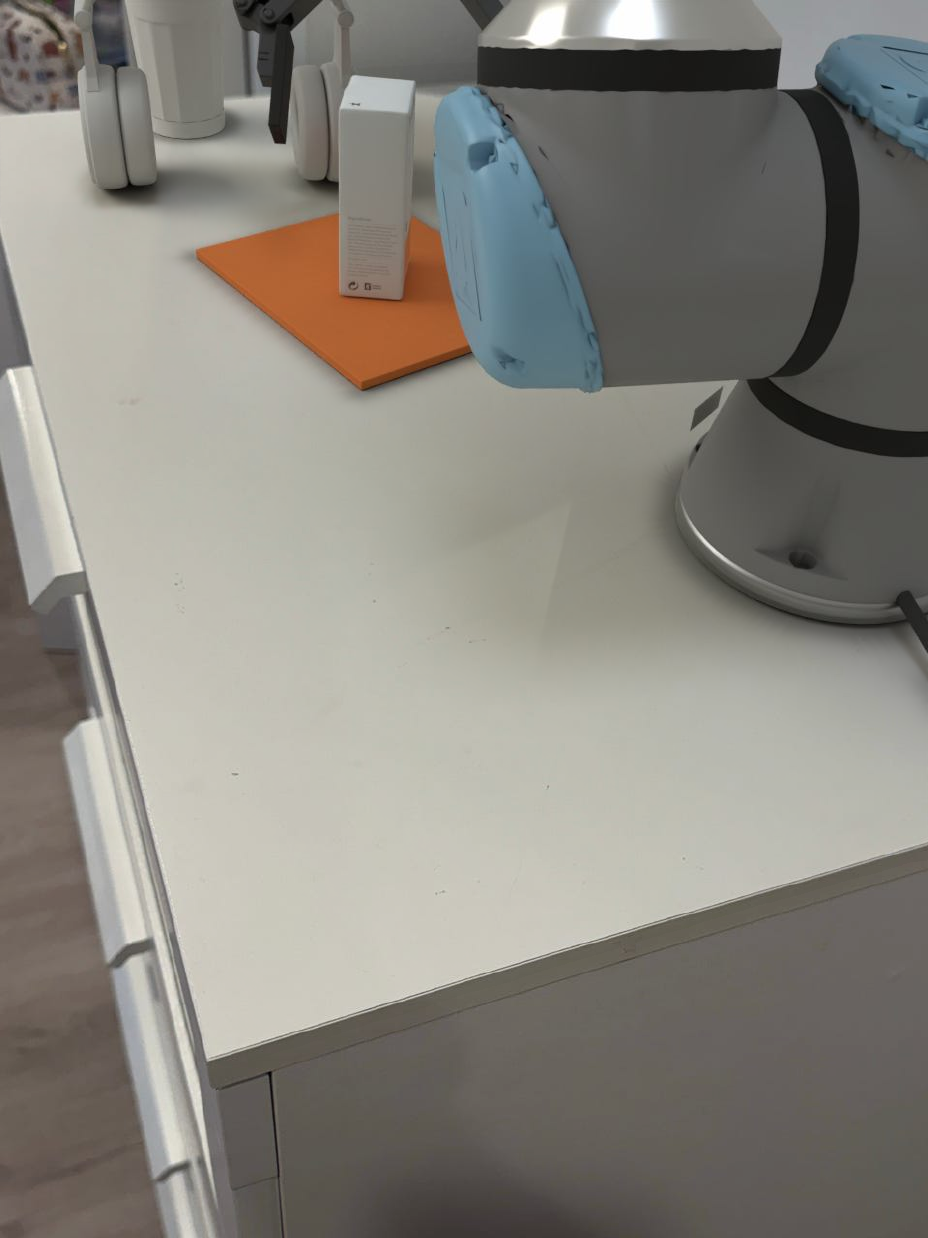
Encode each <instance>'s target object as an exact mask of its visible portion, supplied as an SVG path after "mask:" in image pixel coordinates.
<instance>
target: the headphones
mask: <svg viewBox="0 0 928 1238" xmlns="http://www.w3.org/2000/svg"><path fill="white" fill-rule="evenodd" d="M329 1H330V8H331V10H332V13H333V15H334V35H333V58H332V61H328V62H324V63H322V64H321V65H320V68H319V67H318V66H317V65H315V64H302V65H298V66H295V67H293V69H292V80H291V92H290V104H289V113H290V115H289V116H290V129H291V140H292V150H293V156H294V161H295V167H296V170H297V172H298V175H299V176H300V178H301V179H302V180H306V181H321V180H324V179H325V178H327V180H328V181H330V182H335V183H339V108H340V105H341V102H342V99H343V96H344V92H345V89H346V88H347V86H348V84H349V81H350V78H351V77H352V76H353V75H358V73H357V70H356V69H355V68H354V67H353V66H352V62H351V60H352V59H351V40H350V35H351V34H350V28H351V27H352V26H353V25H354V23H355V16H354V14H353V12H352V9H351V8H350V6H349V3H348V1H347V0H329ZM95 2H96V0H74V7H73V8H74V10H73V22H74V24H75V25H76V26H77V28H79V29H80V35H81V36H80V37H81V43H82V51H83V59H84V60H83V61H84V65H83V66H82V68H81V69H80V70H78V71H77V89H78V93H77V94H78V103H79V115H80V123H81V129H82V136H83V137H82V138H83V143H84V150H85V155H86V161H87V165H88V166H87V167H88V171H89V176H90V179H91V182H92V183H93V184H94V185H96V186H97V187H98V188H99V189H105V190H117V189H123V188H125V187H127V186H128V183H131V185H132V186H148V185H151V184H152V185H153V184H154V183H155V182H156V181H157V177H158V168H157V167H158V166H157V155H156V147H155V146H156V145H155V137H154V136H155V135H154V132H153V126H152V118H151V109H150V101H149V93H148V85H147V79H146V76H145V73H144V72H143V71H142V70H141V69H140V68H138V67H137V66H120V67H118V68H117V70H116V72H115V69H114V68H113V66H112V65H110V64H105V63H99V59H98V55H97V48H96V42H95V38H94V36H95V35H94V32H93V26H92V25H93V21H94V20H93V18H94V17H93V12H94V11H93V10H94V3H95Z"/></svg>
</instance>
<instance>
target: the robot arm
mask: <svg viewBox="0 0 928 1238" xmlns="http://www.w3.org/2000/svg"><path fill="white" fill-rule="evenodd" d="M323 1H324V0H232V6H233V9H234V12H235V15H236V18H237V21H238V23H239V26H240V28H241V29H242V30H243V31H246V32H252V31H253V32H255V33H257V34H258V36H259V37H258V46H257V47H258V48H257V60H256V70H257V73H258V76H259V77H258V78H259V81H260V83H261V86H262V88H270V97H269V109H268V118H267V119H268V120H267V126H268V129H269V132H270V134H271V138H272V141H273V143H274V144H276V145H287V137H288V124H289V116H290V115H289V113H290V92H291V80H292V72H293V70H294V57H295V56H294V55H295V45H294V40H293V37H292V33H291V32H292V31H293V30H294V29H295V28H296V27H298V25H299V24H300V23H302V22H303V21H304V19H306V18H307V16H308V15H310V13H312V11H314V10H315V9H316V8H317V6H319V5H320V4H321V3H322V2H323ZM459 1H460V3H461V4H462V5H463V7H464V8H465V10H466V11H467V12H468V13H469V15H470V16H471V18H472V19H473V21H474V22H475V23H476V24H477V26H478V27H479V29H480V30H481V32H480V33H479V34H478V35H477V46H476V47H477V53H476V57H477V59H476V60H477V61H476V65H477V66H476V73H477V74H476V86H474V85H461V86H460V87H458V88H457V89H456V90H455V91H452V92H450V93H449V92H448V94H446V95H444V96H443V97H442V98H441V100H440V102H439V104H438V106H437V109H436V112H435V116H434V125H433V126H434V127H433V130H434V146H435V147H434V148H435V149H434V152H433V158H432V159H433V179H434V190H435V191H434V193H435V202H436V211H437V220H438V226H439V227H438V228H439V233H440V234H441V240H442V246H443V251H444V257H445V262H446V268H447V272H448V277H449V281H450V286H451V290H452V294H453V298H454V302H455V306H456V309H457V313H458V316H459V319H460V323H461V326H462V329H463V331H464V334H465V337H466V339H467V341H468V343H469V346H470V348H471V350H472V352H471V353H472V354H473V356H474V358H475V359H476V361H477V362H478V364H479V365H480V367H481V368H482V369H483V371H485V373H486V374H487V375H489V376H490V377H491V378H493V380H495V381H496V382H498V383H499V384H502V385H504V386H506V387H510V388H513V389H518V390H519V389H520V390H521V389H522V390H531V389H533V390H535V389H536V390H537V389H539V390H541V389H543V390H544V389H545V390H546V389H547V390H548V389H551V390H552V389H553V390H555V389H558V390H559V389H561V390H564V389H567V390H568V389H570V390H571V389H572V390H574V389H575V390H576V389H578V390H579V391H580V392H582V393H585V394H586V393H587V394H595V393H599V392H600V391H601V390H602V389H605V388H606V389H607V388H622V387H639V386H640V387H641V386H654V385H655V386H656V385H673V384H688V383H706V382H722V381H723V382H725V381H737V382H736V383H735V386H734V387H733V388H732V390H731V392H730V393H729V395H728V397H727V398H726V400H725V402H724V403H723V405H722V407H721V409H720V411H719V412H718V414H717V416H716V417H715V419H714V421H713V423H712V424H711V426H710V428H709V429H708V430H707V431H706V432H705V433H703V435H701V437H700V438H699V439H698V441H697V442H696V444H695V445H694V446H693V448H692V449H691V451H690V452H689V455H688V456H687V459H686V461H685V464H684V466H683V468H682V469H681V474H680V478H679V481H678V487H677V491H676V494H675V501H674V511H675V512H674V514H675V518H676V519H675V520H676V524H677V527H678V529H679V532H680V534H681V536H682V537H683V539H684V541H685V543H686V544H687V546H688V547H689V549H690V550H691V551H692V552H693V554H694V555H695V556H696V557H697V559H698V560H699V561H700V562H701V563H703V564H704V565H705V567H706V568H707V569H709V570H710V571H711V572H712V573H713V574H715V575H716V576H717V577H719V578H720V579H721V580H723V581H724V582H725V583H726V584H728V585H730V586H731V587H733V588H734V589H737V591H739V592H741V593H743V594H745V595H747V596H749V597H751V598H753V599H754V600H756V601H758V602H761V603H764V604H766V605H768V606H771V607H774V608H776V609H779V610H781V611H784V612H787V613H791V614H794V615H797V616H801V617H805V618H809V619H814V620H819V621H824V622H830V623H838V624H839V623H840V624H850V625H854V624H855V625H879V624H889V623H897V622H900V621H905V620H906V621H908V623H909V625H910V627H911V628H912V630H913V632H914V633H915V635H916V637H917V639H918V640H919V642H920V643H921V645H922V647H923V648H924V650H925V652H926V653H927V654H928V618H927V617H926V615H925V614H927V613H928V42H926V41H921V40H917V39H912V38H907V37H901V36H894V35H893V36H892V35H883V34H872V33H871V34H870V33H858V34H852V35H849V36H848V37H846V38H844V37H841V38H839V39H836V40H834V41H832V42H831V43H830V44H829V45H828V47H827V48H826V50H825V52H824V54H823V56H822V59H821V60H820V61H819V62H817V64H816V65H815V68H814V69H815V70H814V79H815V81H816V84H815V85H814V86H813V87H809V88H808V87H807V88H793V89H792V88H790V89H789V88H784V89H783V88H779V89H778V82H779V75H780V65H781V56H782V46H783V37H782V36H781V35H780V33H779V32H778V31H777V30H776V28H775V27H774V26H773V24H771V22H770V21H769V20H768V18H767V17H766V16H765V15H764V13H763V12H762V11H761V9H760V8H759V7H758V5H757V4H756V3H755V2H754V1H753V0H509V1H507V3H506V4H505V5H503V4H502V2H501V0H459ZM723 390H724V385H722V386H721V387H719V388H718V390H716V391H715V392H714V393H713V394H711V395H710V396H709V397H707V398H706V400H704V401H703V402H702V403H700V404H699V405H698V406H697V407H696V408H694V412H693V416H692V421H691V426H690V430H689V431H690V432H691V431H693V430H694V429H695V428H696V427H697V426H698V425H700V424H701V423H702V422H703V421H704V420H706V419H707V418H708V417H709V416H710V415H712V414H713V413H714V412H715V411H716V410H717V409H718V408H719V406H720V403H721V398H722V394H723Z"/></svg>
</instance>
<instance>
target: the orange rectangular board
mask: <svg viewBox="0 0 928 1238" xmlns="http://www.w3.org/2000/svg"><path fill="white" fill-rule="evenodd" d="M195 254H196V258H197V259H198V260H200V262H202V263H203V264H205V265H206V266H207V267H208V268H209V269H210V270H212V271H213V272H215V273H216V274H217V275H218V276H219V277H220V278H222V279H223V280H224V281H225V282H226V283H228V284H229V285H230V286H231V287H233V288H234V289H236V290H237V291H238V292H239V293H240V294H242V295H243V296H244V297H245V298H246V299H248V300H249V301H250V302H252V303H253V304H254V305H255V306H257V308H259V309H260V310H262V311H263V313H265V314H266V315H268V316H269V317H270V318H271V319H272V320H273V321H275V322H276V323H278V325H280V326H281V327H283V329H285V330H286V331H288V333H290V334H291V335H293V336H294V337H295V338H296V339H297V340H299V341H300V342H302V343H303V345H305V346H306V347H307V348H308V349H310V350H311V351H313V352H314V353H315V354H316V355H317V356H319V357H320V358H321V359H323V361H325V362H326V363H327V364H329V365H330V366H331V367H332V368H333V369H335V370H336V371H337V372H339V374H341V375H342V376H344V378H346V379H347V380H348V381H350V382H351V383H352V384H353V385H354V386H356V387H357V388H358V389H360V390H361V391H364V390H366V389H370V388H372V387H375V386H377V385H378V386H379V385H381V384H383V383H386V382H389V381H392V380H395V379H398V378H400V377H403V376H406V375H409V374H412V373H415V372H418V371H421V370H424V369H426V368H429V367H433V366H435V365H438V364H440V363H443V362H446V361H449V360H452V359H455V358H458V357H460V356H463V355H466V354H470V353H473V352H472V350H471V348H470V346H469V343H468V341H467V339H466V337H465V334H464V331H463V329H462V326H461V323H460V319H459V316H458V313H457V309H456V306H455V302H454V298H453V294H452V290H451V286H450V281H449V277H448V272H447V268H446V262H445V257H444V251H443V246H442V240H441V233H440V232H439V231H437V230H435V229H433V228H432V227H431V226H429V225H427V224H426V223H424V222H423V221H421V220H419V219H418V218H416V217H415V216H413V215H412V214H411V234H410V258H409V264H408V268H407V273H406V277H405V283H404V290H403V298H402V299H401V300H392V299H381V298H368V297H355V296H344V295H341V294H340V292H339V212H335V213H333V214H327V215H324V216H321V217H320V216H319V217H317V218H313V219H309V220H304V221H301V222H297V223H293V224H288V225H285V226H282V227H278V228H274V229H270V230H266V231H263V232H258V233H254V234H252V235H247V236H243V237H238V238H234V239H232V240H227V241H223V242H220V243H216V244H211V245H209V246H204V247H200V248H196V249H195Z"/></svg>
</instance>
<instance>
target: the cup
mask: <svg viewBox="0 0 928 1238" xmlns="http://www.w3.org/2000/svg"><path fill="white" fill-rule="evenodd" d="M124 3H125V9H126V13H127V18H128V25H129V29H130V34H131V39H132V45H133V49H134V54H135V60H136V65H137V66H136V67H137V68H140V69H141V70H142V71H143V72H144V73H145V76H146V79H147V85H148V93H149V101H150V109H151V118H152V126H153V133H154V134H157V135H159V136H163V137H167V138H172V139H181V140H182V139H183V140H185V139H186V140H189V139H191V140H192V139H202V138H207V137H210V136H214V135H216V134H218V133H220V132H222V131H223V130H224V129H225V127H226V114H225V68H224V67H225V65H224V64H225V60H224V59H225V55H224V54H225V52H224V51H225V49H224V48H225V44H224V43H225V38H224V37H225V34H224V33H225V31H224V30H225V27H224V23H225V22H224V19H225V18H224V17H225V16H224V14H225V0H124Z"/></svg>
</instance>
